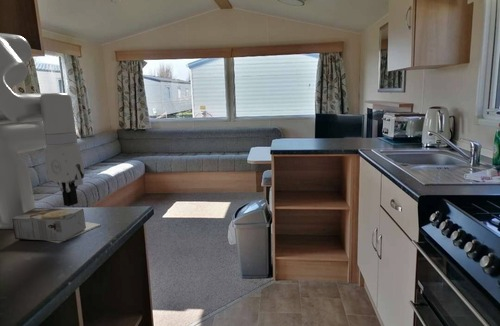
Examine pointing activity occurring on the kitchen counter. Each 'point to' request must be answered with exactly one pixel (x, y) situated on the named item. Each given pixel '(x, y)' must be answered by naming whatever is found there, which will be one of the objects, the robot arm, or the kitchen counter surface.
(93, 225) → the mat
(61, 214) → the coffee box
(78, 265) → the kitchen counter surface
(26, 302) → the kitchen counter surface
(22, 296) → the kitchen counter surface
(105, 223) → the kitchen counter surface
